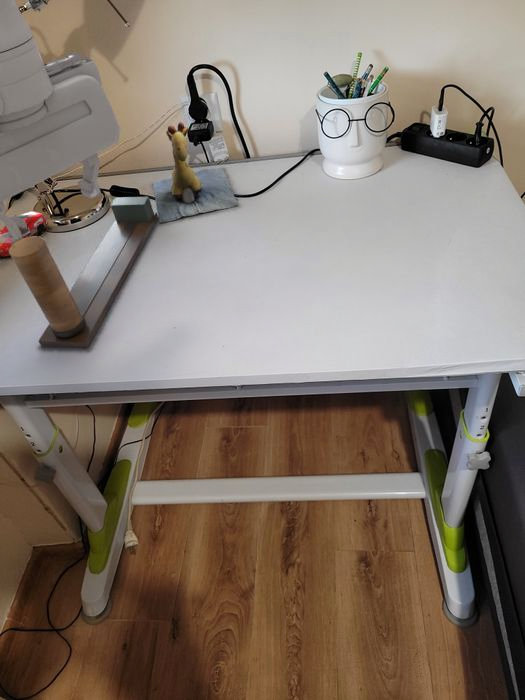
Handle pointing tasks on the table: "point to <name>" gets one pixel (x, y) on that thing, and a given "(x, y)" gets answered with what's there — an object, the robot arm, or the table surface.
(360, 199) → the table surface
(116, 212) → the stop block
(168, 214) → the stuffed giraffe
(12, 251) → the upright wooden cylinder
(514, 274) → the table surface
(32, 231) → the race car
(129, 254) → the track board
